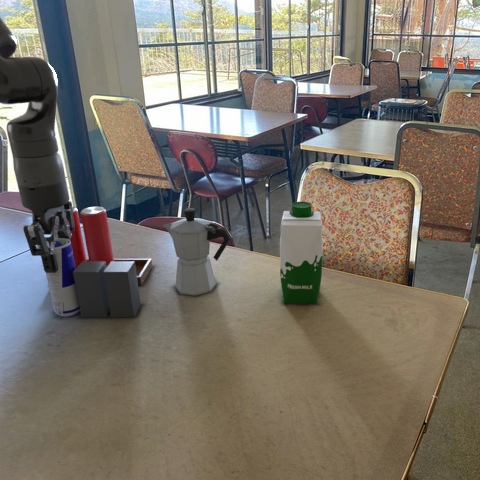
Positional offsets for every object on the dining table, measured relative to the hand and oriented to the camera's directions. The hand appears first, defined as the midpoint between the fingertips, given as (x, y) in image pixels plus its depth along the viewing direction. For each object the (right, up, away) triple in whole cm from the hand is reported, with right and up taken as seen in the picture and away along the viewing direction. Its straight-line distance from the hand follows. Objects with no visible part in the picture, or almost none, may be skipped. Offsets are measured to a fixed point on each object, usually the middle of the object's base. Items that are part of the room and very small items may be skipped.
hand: (59, 263), depth 91 cm
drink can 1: (-6, -3, +17) cm, 19 cm away
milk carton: (+45, -8, +13) cm, 48 cm away
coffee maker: (+23, -6, +15) cm, 28 cm away
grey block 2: (+11, -10, +5) cm, 15 cm away
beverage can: (0, -10, +4) cm, 11 cm away
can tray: (0, -4, +18) cm, 18 cm away
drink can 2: (0, -3, +18) cm, 18 cm away
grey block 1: (+5, -10, +5) cm, 12 cm away
